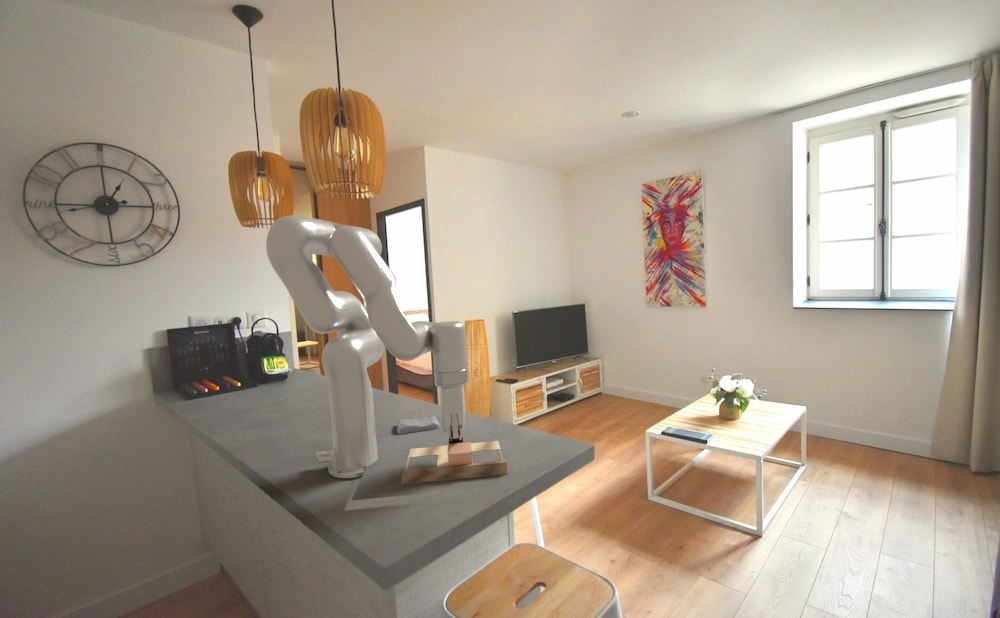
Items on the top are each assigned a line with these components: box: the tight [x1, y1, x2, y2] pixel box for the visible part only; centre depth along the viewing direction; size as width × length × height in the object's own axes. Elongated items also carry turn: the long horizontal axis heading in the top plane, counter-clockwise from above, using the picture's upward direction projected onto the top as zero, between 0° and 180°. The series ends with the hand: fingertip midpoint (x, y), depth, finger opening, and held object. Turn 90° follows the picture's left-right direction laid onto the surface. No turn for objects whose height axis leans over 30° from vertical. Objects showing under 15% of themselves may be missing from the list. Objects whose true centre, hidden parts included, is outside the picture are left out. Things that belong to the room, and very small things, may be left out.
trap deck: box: [400, 440, 508, 485], centre depth 99 cm, size 22×18×4 cm
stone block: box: [396, 415, 441, 435], centre depth 123 cm, size 12×5×10 cm
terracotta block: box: [447, 441, 473, 466], centre depth 93 cm, size 5×5×5 cm
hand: (456, 455), depth 98 cm, fingers closed
